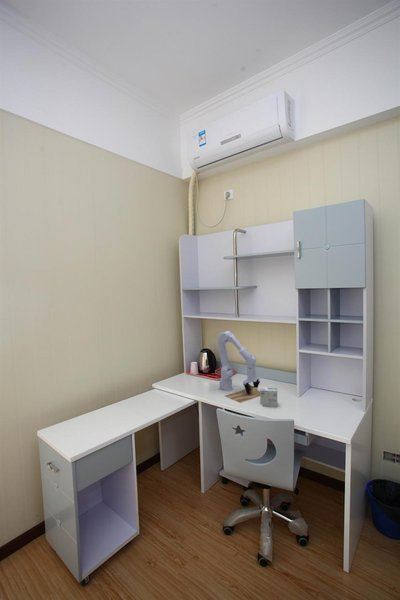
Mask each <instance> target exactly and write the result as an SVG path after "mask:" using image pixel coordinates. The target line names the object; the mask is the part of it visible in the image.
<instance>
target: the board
mask: <svg viewBox="0 0 400 600" xmlns="http://www.w3.org/2000/svg"><path fill="white" fill-rule="evenodd" d="M224 397H226V398H228V399H230V400H232V401H235V402H238V403H239V404H241V403H244V402H247V401H250V400H253V399H256V398H258V397H259V398H260V391H258V390H257V394H254V395H253V394H250V393H249V394H248V393H247V392H246V389H245V388H244V389H242V390H239V391H236V392H232V393H229V394H226V395H224Z"/></svg>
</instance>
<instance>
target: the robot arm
mask: <svg viewBox="0 0 400 600" xmlns="http://www.w3.org/2000/svg"><path fill="white" fill-rule="evenodd" d="M226 343H231V344H232V345H233V346H235V348H236V349H238V351H239V355H240V356H242V358H243V359H244V360H245V364H246V366H247V367H246V368H247V369H246V370H247V372H246V373H247V374H246V375H247V379H245V380H244V381H243V382H242V384H243V385H242V386H244V389H246V392H247V393H248V394H249V393H250V386H254V387H256V388H257V389H258V387H259V385H260V383H261V381H260V380H261V378H260V377H258V376H256V375H257V374H256V363H257V358H256V356H255V355H253V354H251V352H250V351H249V349H248V348H247V347H243V346H242V344H241V343H240V342H239V340H238V339H237V337H236V336H235V334H233V333H232V331H230V330H225V331H224V332H221V333H220V334H219V336H218V340H217V346H218V352H219V357H220V362H221V369H220V371H221V372H220V378H219V389H218V390H222V391H226V392H228V391H232V390H233V375H234V371H233V368H232V366H231V365H230V363H229V355H228V353H227V347H226ZM251 383H252V385H251Z"/></svg>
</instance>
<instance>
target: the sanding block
mask: <svg viewBox="0 0 400 600" xmlns="http://www.w3.org/2000/svg"><path fill="white" fill-rule="evenodd" d="M257 391H258V388H256V387H254V385H251V386H250V394H253V395H254V394H257Z"/></svg>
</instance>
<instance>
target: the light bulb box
mask: <svg viewBox="0 0 400 600" xmlns="http://www.w3.org/2000/svg"><path fill="white" fill-rule="evenodd" d="M259 392H260V396H259V399H260V400H259V401H260V405H261V407H269V408H277V407H278V388H277V387H270V386H267V387H266V386H260V390H259Z"/></svg>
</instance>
